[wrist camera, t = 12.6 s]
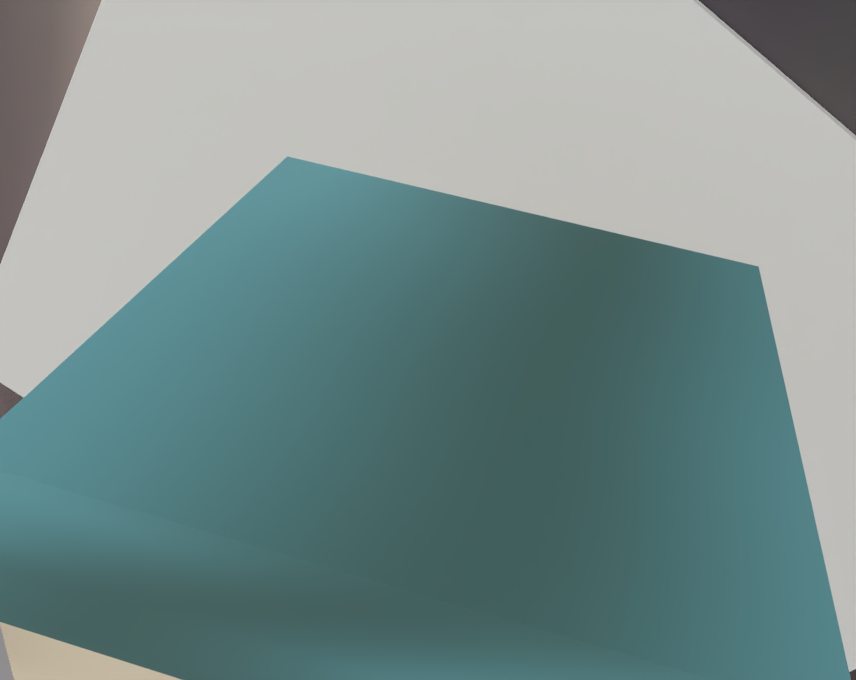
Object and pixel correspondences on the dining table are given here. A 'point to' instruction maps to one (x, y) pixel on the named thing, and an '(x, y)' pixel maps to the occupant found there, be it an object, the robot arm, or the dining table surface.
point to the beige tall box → (416, 459)
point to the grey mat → (456, 164)
